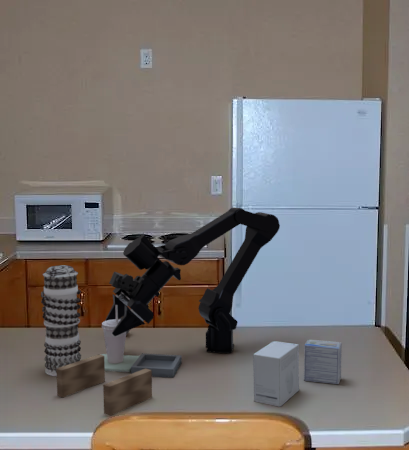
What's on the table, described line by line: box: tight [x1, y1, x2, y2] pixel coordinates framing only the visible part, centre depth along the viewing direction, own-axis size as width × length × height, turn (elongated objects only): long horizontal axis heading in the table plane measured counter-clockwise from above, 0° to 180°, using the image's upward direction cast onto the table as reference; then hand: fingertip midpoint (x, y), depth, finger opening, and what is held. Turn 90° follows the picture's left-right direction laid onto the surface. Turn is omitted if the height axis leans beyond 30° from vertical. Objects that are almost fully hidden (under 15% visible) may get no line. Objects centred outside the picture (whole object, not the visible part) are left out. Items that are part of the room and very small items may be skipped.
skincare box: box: [252, 340, 300, 407], centre depth 138 cm, size 10×6×10 cm, turn 150°
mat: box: [100, 353, 140, 373], centre depth 159 cm, size 10×10×1 cm
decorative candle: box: [40, 264, 82, 377], centre depth 153 cm, size 9×9×25 cm
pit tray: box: [130, 353, 183, 378], centre depth 155 cm, size 10×10×2 cm
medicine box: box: [303, 339, 343, 385], centre depth 147 cm, size 8×4×9 cm, turn 71°
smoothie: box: [101, 305, 127, 364], centre depth 158 cm, size 6×6×14 cm
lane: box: [56, 354, 153, 416], centre depth 138 cm, size 12×17×6 cm
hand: (109, 329), depth 157 cm, fingers open, 9 cm apart
